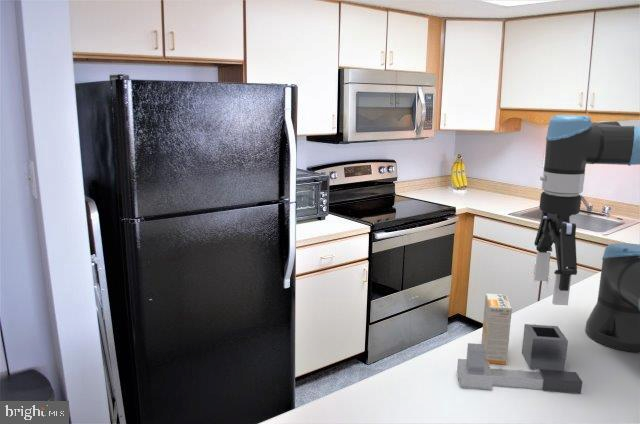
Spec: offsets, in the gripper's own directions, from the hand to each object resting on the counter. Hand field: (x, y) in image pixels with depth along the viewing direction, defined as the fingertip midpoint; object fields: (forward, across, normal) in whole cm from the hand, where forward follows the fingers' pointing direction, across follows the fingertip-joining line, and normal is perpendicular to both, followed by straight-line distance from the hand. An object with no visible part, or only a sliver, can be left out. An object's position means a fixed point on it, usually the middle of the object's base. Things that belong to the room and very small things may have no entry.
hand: (549, 291), depth 109 cm
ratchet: (+16, +10, -7) cm, 20 cm away
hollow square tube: (+16, 0, 0) cm, 16 cm away
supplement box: (+16, -2, -10) cm, 19 cm away
